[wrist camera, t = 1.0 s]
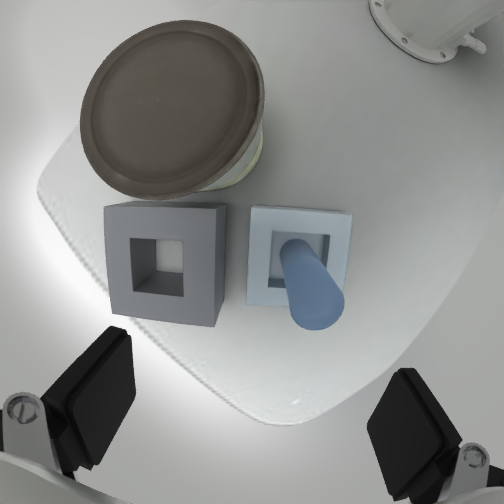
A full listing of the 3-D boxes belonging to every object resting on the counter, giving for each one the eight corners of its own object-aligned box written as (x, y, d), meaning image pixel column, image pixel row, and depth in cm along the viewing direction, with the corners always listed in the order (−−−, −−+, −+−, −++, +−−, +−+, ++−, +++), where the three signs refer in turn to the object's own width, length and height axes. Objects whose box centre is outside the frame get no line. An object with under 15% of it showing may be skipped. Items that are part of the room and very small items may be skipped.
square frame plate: (343, 211, 27) (352, 215, 24) (332, 297, 29) (339, 309, 26) (252, 204, 27) (251, 207, 24) (247, 292, 29) (246, 304, 26)
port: (226, 203, 27) (216, 209, 21) (223, 300, 29) (214, 327, 23) (133, 201, 27) (103, 206, 21) (136, 291, 30) (112, 313, 24)
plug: (313, 239, 27) (348, 281, 15) (310, 271, 28) (339, 330, 16) (280, 237, 27) (293, 278, 15) (278, 269, 28) (287, 329, 16)
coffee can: (173, 202, 27) (95, 222, 13) (154, 108, 25) (74, 63, 11) (275, 178, 26) (286, 171, 12) (251, 81, 24) (239, 0, 10)
